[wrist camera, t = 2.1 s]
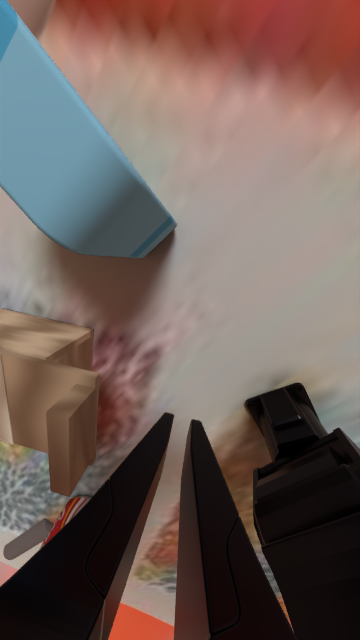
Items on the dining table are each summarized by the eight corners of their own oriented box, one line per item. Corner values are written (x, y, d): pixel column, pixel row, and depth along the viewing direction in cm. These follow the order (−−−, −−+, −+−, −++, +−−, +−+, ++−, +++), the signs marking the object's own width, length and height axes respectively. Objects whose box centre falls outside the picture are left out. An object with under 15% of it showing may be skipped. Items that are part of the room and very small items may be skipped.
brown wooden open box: (93, 329, 22) (45, 357, 16) (91, 396, 25) (50, 443, 19) (3, 308, 23) (-79, 326, 17) (11, 375, 26) (-54, 413, 20)
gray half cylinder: (64, 525, 37) (57, 538, 36) (21, 552, 43) (13, 564, 42) (47, 513, 37) (39, 525, 35) (6, 542, 43) (-2, 553, 41)
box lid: (99, 373, 15) (68, 405, 12) (95, 459, 18) (69, 504, 15) (-33, 340, 16) (-98, 361, 13) (-15, 428, 19) (-63, 464, 16)
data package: (180, 228, 18) (134, 168, 6) (146, 259, 19) (59, 256, 8) (92, 112, 16) (-183, -249, 5) (61, 155, 17) (-211, -45, 6)
